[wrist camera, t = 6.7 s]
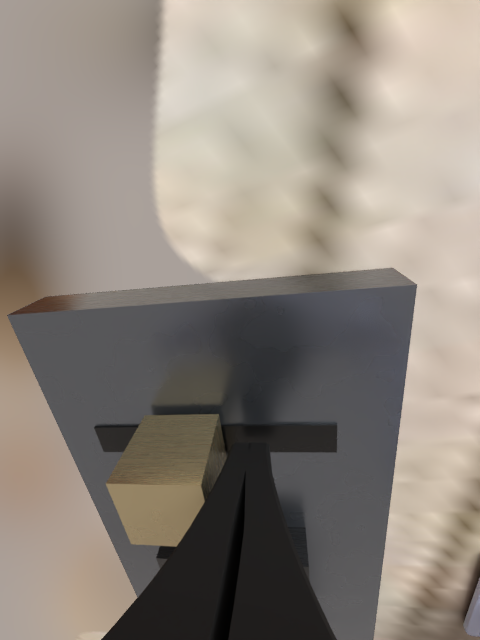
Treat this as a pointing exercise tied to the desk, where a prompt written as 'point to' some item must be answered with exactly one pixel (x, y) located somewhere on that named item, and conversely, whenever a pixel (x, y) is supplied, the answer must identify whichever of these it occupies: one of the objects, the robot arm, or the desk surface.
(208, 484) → the brass slider
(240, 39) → the desk surface
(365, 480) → the switch panel
